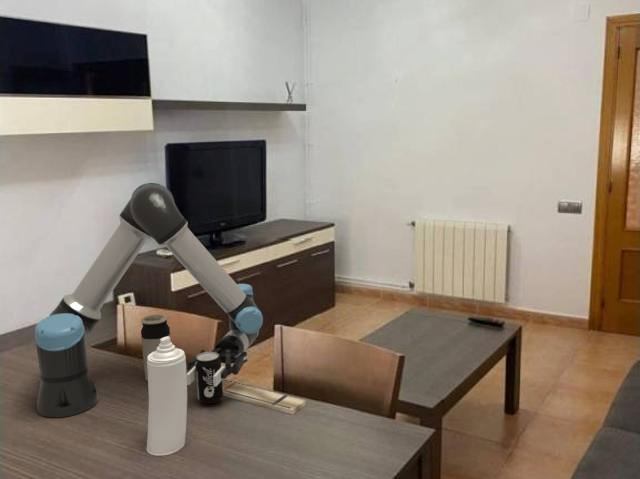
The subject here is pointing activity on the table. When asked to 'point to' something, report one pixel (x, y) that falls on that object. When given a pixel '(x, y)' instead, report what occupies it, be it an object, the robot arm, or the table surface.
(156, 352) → the spray can
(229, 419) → the table surface
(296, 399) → the birch straightedge
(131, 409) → the table surface
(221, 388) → the beverage can
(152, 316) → the travel mug
